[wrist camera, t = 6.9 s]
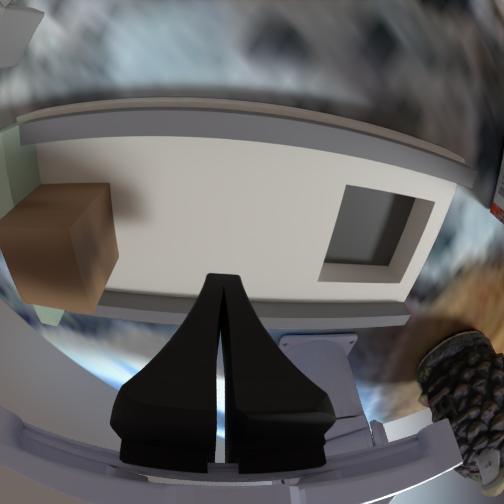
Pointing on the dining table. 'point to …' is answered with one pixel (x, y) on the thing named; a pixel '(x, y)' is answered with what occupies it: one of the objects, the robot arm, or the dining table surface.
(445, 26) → the dining table surface
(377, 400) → the dining table surface
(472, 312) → the dining table surface
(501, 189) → the snack box
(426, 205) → the trap channel
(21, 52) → the lighter
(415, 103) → the dining table surface
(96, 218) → the walnut block
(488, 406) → the pine cone
